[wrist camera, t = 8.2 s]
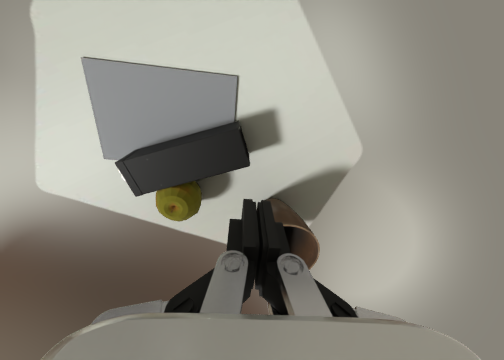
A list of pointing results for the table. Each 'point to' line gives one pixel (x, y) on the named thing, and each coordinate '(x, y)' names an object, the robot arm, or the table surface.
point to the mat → (154, 103)
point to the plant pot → (296, 233)
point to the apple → (179, 201)
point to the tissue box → (185, 159)
